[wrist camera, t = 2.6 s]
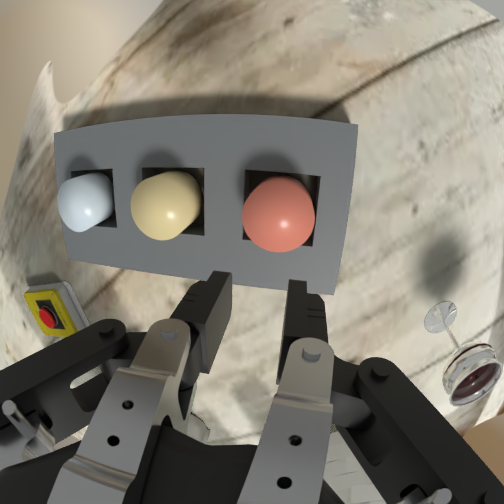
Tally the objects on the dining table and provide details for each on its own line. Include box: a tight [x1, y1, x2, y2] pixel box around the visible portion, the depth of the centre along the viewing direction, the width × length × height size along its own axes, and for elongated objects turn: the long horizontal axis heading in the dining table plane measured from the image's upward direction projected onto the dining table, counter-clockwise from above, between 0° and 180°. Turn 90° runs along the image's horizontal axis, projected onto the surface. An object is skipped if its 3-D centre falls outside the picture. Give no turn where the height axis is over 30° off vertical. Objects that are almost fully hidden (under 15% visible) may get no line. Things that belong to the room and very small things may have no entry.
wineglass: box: [424, 302, 503, 407], centre depth 24 cm, size 7×7×12 cm
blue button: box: [57, 172, 115, 232], centre depth 26 cm, size 6×6×4 cm
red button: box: [242, 175, 315, 252], centre depth 23 cm, size 6×6×4 cm
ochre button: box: [131, 170, 204, 240], centre depth 25 cm, size 6×6×4 cm
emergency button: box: [24, 281, 90, 337], centre depth 38 cm, size 9×4×15 cm
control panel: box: [54, 114, 358, 295], centre depth 27 cm, size 32×16×3 cm, turn 87°
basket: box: [323, 431, 387, 504], centre depth 35 cm, size 25×24×19 cm
